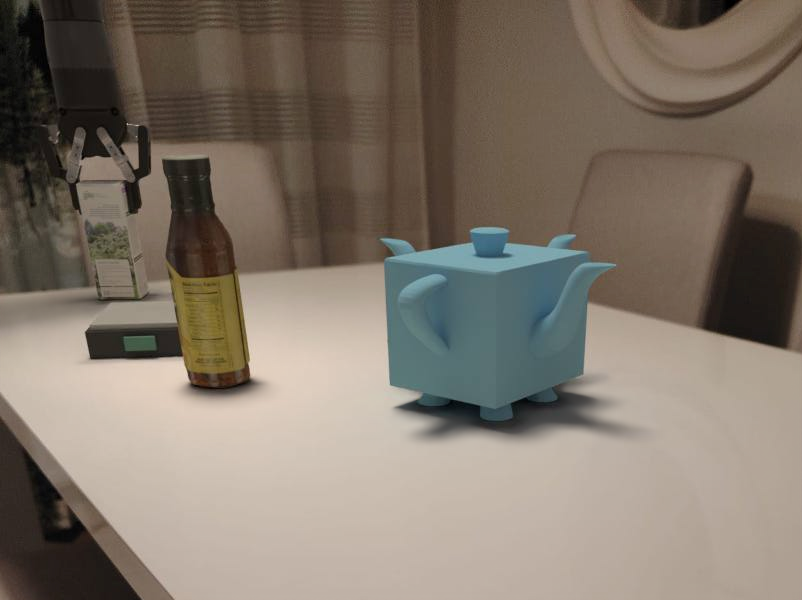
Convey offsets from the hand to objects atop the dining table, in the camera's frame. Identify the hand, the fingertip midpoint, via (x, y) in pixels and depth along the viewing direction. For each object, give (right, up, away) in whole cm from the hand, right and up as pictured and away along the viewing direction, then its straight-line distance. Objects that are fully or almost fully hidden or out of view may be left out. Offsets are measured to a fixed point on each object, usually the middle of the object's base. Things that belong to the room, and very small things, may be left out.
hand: (109, 213), depth 125 cm
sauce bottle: (+24, -32, -32) cm, 51 cm away
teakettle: (+51, -34, -37) cm, 71 cm away
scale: (+12, -23, -18) cm, 32 cm away
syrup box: (0, -9, +5) cm, 11 cm away
